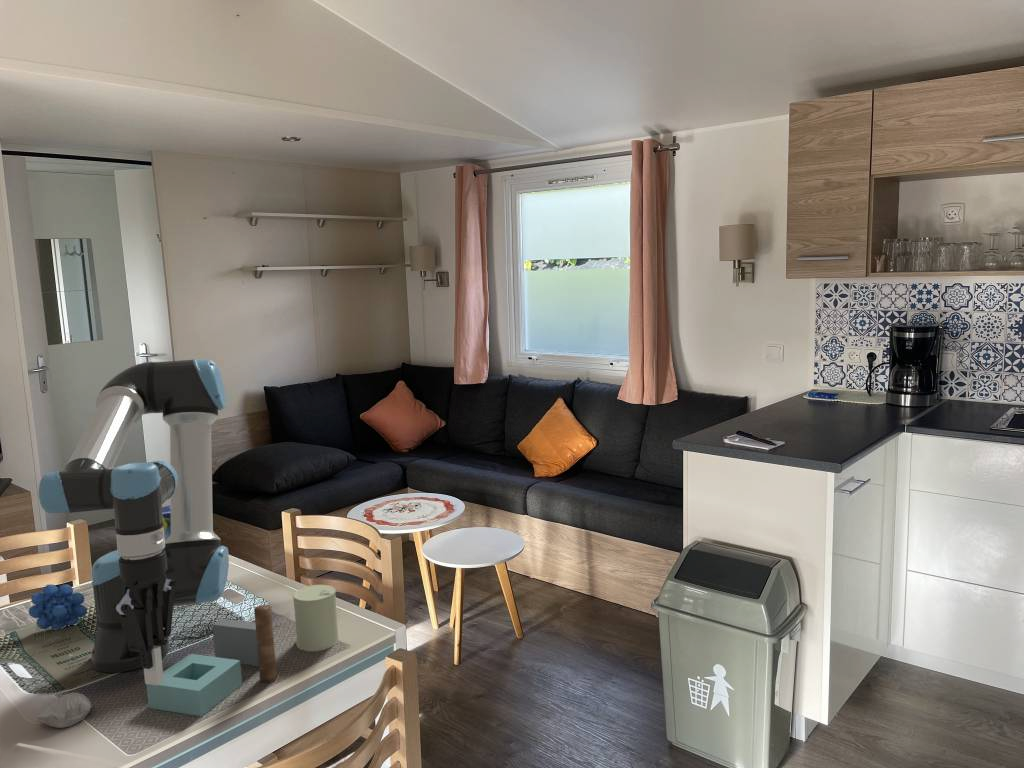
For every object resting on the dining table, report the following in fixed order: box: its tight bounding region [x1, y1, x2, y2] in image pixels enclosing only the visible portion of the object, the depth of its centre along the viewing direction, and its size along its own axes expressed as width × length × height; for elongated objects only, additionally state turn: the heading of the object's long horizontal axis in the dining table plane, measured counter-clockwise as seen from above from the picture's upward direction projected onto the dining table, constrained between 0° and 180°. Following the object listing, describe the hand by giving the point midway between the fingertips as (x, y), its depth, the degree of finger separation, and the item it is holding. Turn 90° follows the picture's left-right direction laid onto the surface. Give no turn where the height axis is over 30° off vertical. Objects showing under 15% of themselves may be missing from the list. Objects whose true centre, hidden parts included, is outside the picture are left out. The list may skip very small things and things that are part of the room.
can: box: [292, 584, 340, 652], centre depth 172 cm, size 9×9×12 cm
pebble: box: [36, 692, 92, 729], centre depth 144 cm, size 9×8×5 cm
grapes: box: [28, 584, 88, 630], centre depth 181 cm, size 12×7×12 cm, turn 126°
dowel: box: [253, 604, 278, 684], centre depth 156 cm, size 3×3×15 cm
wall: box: [212, 618, 259, 667], centre depth 165 cm, size 12×3×8 cm, turn 73°
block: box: [145, 653, 243, 717], centre depth 151 cm, size 12×12×5 cm
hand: (154, 682), depth 138 cm, fingers closed
